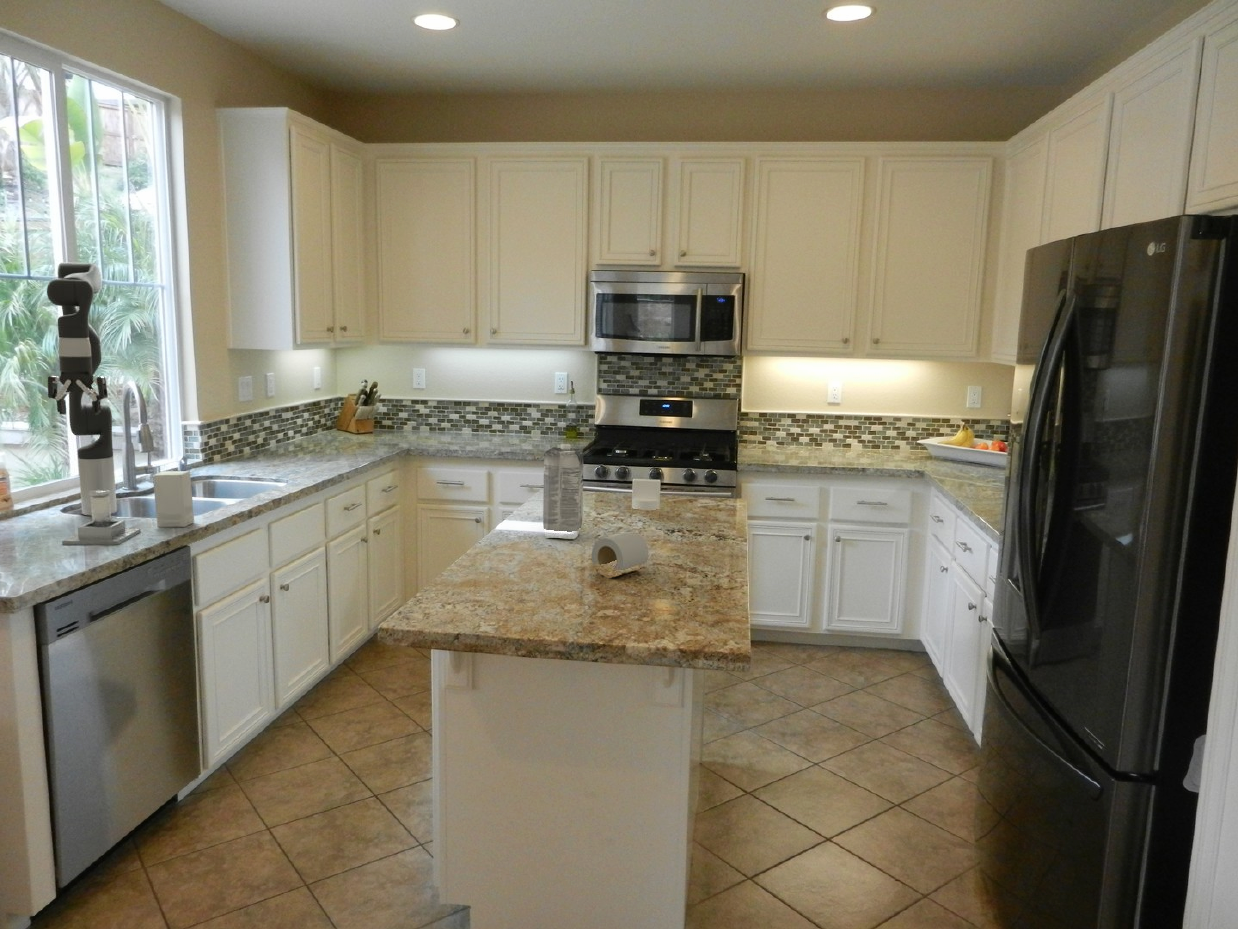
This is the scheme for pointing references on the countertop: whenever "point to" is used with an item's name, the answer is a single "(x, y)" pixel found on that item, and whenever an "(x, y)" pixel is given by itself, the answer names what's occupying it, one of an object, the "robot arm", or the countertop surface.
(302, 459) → the countertop surface
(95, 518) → the pale grey upright block
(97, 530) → the duct plate
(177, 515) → the skincare box
